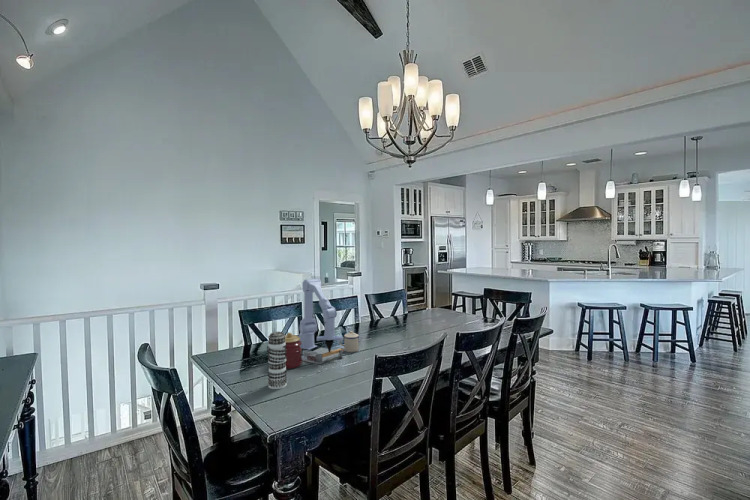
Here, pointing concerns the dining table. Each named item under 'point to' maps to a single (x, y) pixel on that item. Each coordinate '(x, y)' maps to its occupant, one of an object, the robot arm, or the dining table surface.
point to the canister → (293, 351)
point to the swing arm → (327, 354)
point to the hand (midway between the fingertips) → (329, 352)
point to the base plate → (311, 355)
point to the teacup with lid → (350, 342)
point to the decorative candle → (277, 360)
